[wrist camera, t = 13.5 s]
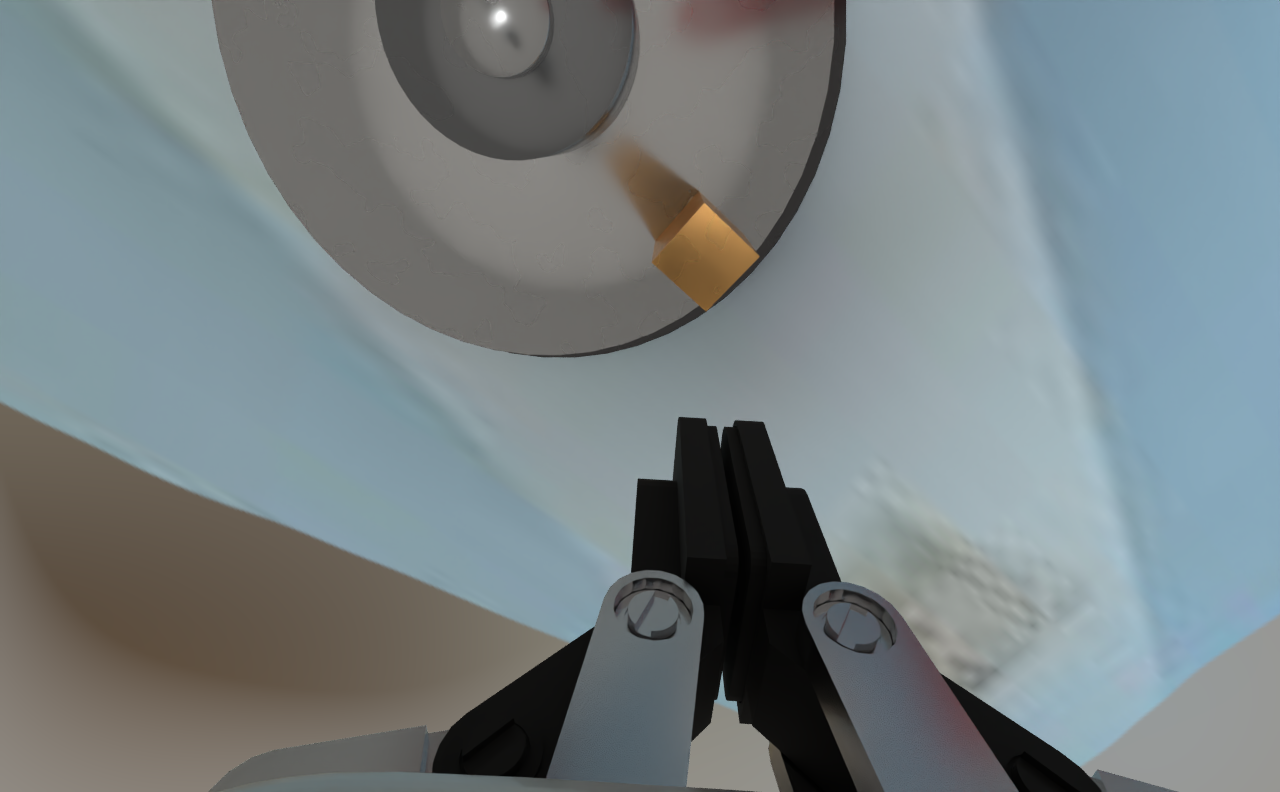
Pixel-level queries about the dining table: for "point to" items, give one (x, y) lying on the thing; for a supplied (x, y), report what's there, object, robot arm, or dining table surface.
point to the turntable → (539, 170)
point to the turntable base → (796, 196)
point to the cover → (514, 69)
